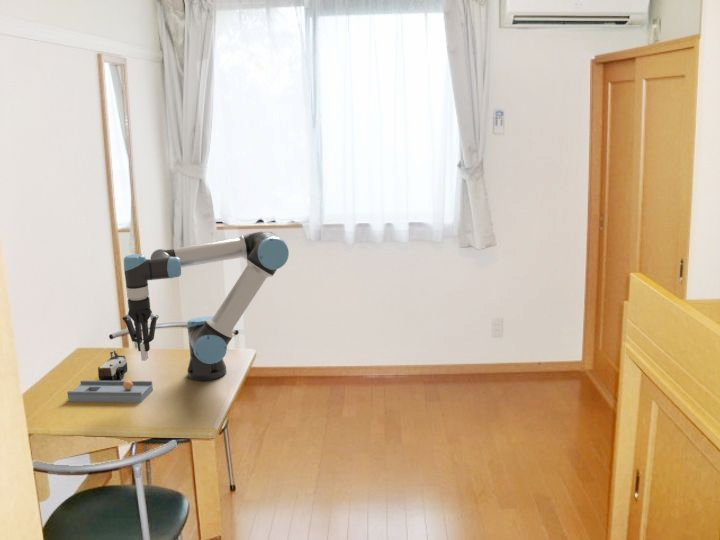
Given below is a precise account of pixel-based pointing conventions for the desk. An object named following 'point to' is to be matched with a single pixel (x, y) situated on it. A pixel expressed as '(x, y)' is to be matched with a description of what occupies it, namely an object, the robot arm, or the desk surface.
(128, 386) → the ball
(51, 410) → the desk surface
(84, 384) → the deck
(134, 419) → the desk surface
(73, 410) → the desk surface
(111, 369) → the camera
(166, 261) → the robot arm
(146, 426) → the desk surface
